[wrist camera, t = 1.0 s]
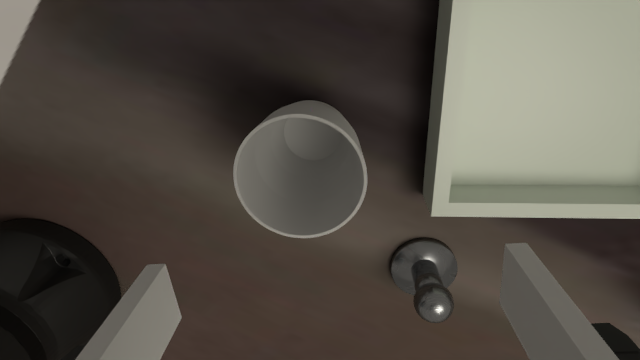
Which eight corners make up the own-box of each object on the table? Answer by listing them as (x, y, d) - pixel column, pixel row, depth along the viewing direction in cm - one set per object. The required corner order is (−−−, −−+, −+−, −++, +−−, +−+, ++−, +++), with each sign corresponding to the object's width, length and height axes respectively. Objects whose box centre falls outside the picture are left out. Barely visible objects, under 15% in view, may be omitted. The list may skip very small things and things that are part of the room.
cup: (245, 126, 33) (205, 171, 24) (318, 61, 31) (305, 84, 22) (308, 194, 35) (294, 259, 26) (381, 139, 33) (394, 189, 24)
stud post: (389, 289, 39) (396, 343, 33) (392, 237, 36) (401, 284, 30) (451, 291, 38) (471, 346, 32) (458, 238, 36) (481, 286, 30)
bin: (422, 194, 35) (431, 216, 31) (444, -61, 27) (460, -72, 23) (654, 196, 33) (692, 219, 30) (747, -72, 26) (814, -86, 22)
